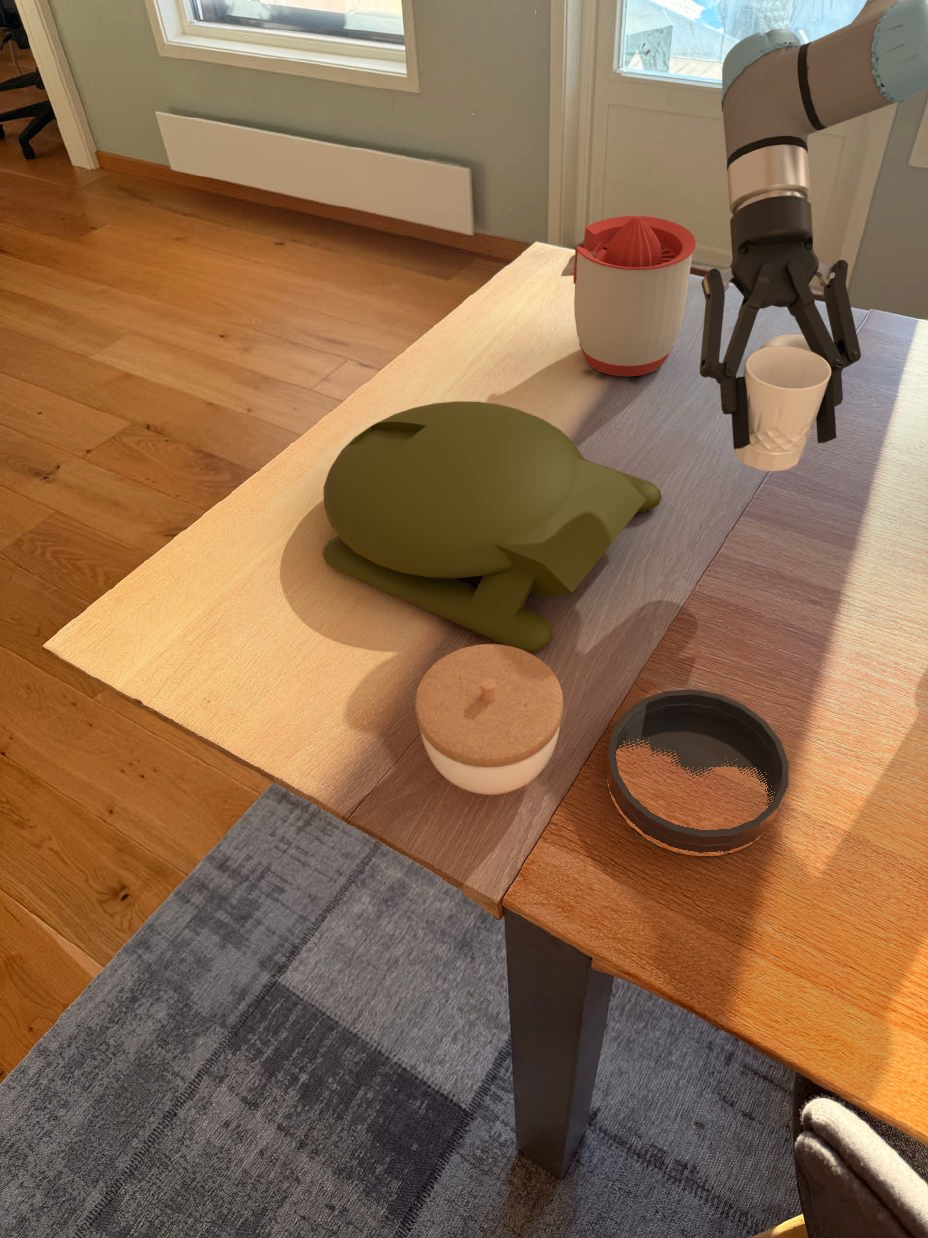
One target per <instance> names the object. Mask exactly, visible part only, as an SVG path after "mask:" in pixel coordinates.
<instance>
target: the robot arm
mask: <svg viewBox="0 0 928 1238" xmlns="http://www.w3.org/2000/svg"><path fill="white" fill-rule="evenodd" d="M927 90H928V0H866V1H865V3H864V5H863V7H862V8H861V10H860V11H859V12H858V14H857V15H856V17H855V18H854V19H853V20H852V21H851V23H849V24H847V25H845V26H843V27H841V28H838V29H836V30H834V31H831V32H830V33H828V34H825V35H824V36H821V37H819V38H817V39H815V40H813V41H809V42H807V43H803V44H802V43H801V39H800V37H799V36H798V35H797V34H796V33H794V32H793V31H790V30H788V29H783V28H773V29H770V30H769V31H767V32H760V31H758V32H755V33H753V34H751V35H748V36H746V37H744V38H743V39H741V40H740V41H738V42H737V43H736V44H735V45H734V46H733V47H731V49H730V50H729V51H728V53H727V54H726V56H725V57H724V61H723V63H722V68H721V94H722V95H721V100H720V105H721V112H722V119H723V130H724V131H723V133H724V141H725V142H724V145H725V153H726V154H725V156H726V172H727V174H726V175H727V192H728V205H729V206H728V207H729V208H728V209H729V212H730V214H731V215H732V216H731V218H730V221H729V228H730V229H729V230H730V242H731V243H730V244H731V255H732V260H731V264H730V266H729V267H728V268H727V267H726V268H724V269H720V270H719V269H718V268H715V267H714V268H711V269H710V270H709V271H708V272H707V273H706V275H705V276H704V277H703V278H702V280H701V283H700V284H701V288H702V292H703V296H704V300H705V307H704V317H703V318H704V319H703V329H702V340H701V350H700V362H699V374H700V376H701V377H703V378H711V379H714V380H715V382H716V383H717V384H718V385H719V389H720V405H721V406H720V407H721V411H722V414H723V415H731V429H732V431H731V432H732V442H733V443H732V444H733V446H732V447H733V450H735V449H741V448H743V447H745V446H747V445H749V444H750V437H749V421H748V405H747V389H746V380H745V377H743V376H737V374H738V371H739V369H740V366H741V363H742V361H743V357H744V354H745V351H746V348H747V345H748V342H749V339H750V337H751V333H752V332H753V331H752V330H753V329H754V325H755V322H756V320H757V316H758V313H759V311H760V310H762V309H766V308H769V307H776V308H787V310H788V312H789V314H790V316H792V317H793V318H794V319H795V322H796V323H797V326H798V327H799V330H800V331H801V335H803V336H804V338H805V340H806V342H807V344H808V346H809V348H810V350H811V351H812V352H814V353H816V354H818V355H819V356H821V357H822V358H824V359H825V360H826V361H827V362H828V364H829V365H830V368H831V376H830V379H829V382H828V385H827V387H826V390H825V393H824V396H823V399H822V402H821V405H820V408H819V411H818V414H817V417H816V420H815V422H816V440H817V441H816V442H817V444H825V443H828V442H830V441H833V440H835V439H837V425H836V424H837V423H836V422H837V421H836V407H838V406H839V405H841V404H842V402H843V401H844V393H843V391H844V389H843V377H842V375H843V374H842V373H843V371H844V369H845V368H848V367H850V366H851V365H852V366H853V364H855V363H856V362H858V361H860V360H861V358H862V352H861V348H860V342H859V338H858V334H857V329H856V325H855V324H856V323H855V320H854V316H853V310H852V306H851V301H850V297H849V292H848V288H847V277H848V271H849V263H848V261H847V260H845V259H839V260H838V261H836V262H835V263H833V262H826V261H820V259H819V257H818V256H817V254H816V252H815V251H814V232H813V231H814V229H813V228H814V227H813V214H812V213H813V212H812V204H811V202H810V201H808V200H809V199H810V197H811V196H812V195H811V179H810V164H809V147H808V146H809V145H808V138H809V136H810V135H811V134H813V133H817V132H820V131H823V130H826V129H828V128H830V127H832V126H835V125H838V124H841V123H843V122H846V121H850V120H852V119H855V118H858V117H860V116H863V115H866V114H869V113H871V112H872V113H873V112H874V111H877V110H880V109H883V108H886V107H888V106H891V105H894V104H897V103H904V102H906V101H909V100H910V99H911V98H912V97H914V96H916V95H918V94H921V93H922V92H925V91H927ZM815 276H816V277H817V278H818V280H819V282H818V283H819V286H820V287H821V288H823V297H824V298H823V299H824V305H825V307H826V312H827V316H828V322H829V327H830V331H831V334H830V332H829V330H828V327H827V325H826V324H825V322H824V319H823V317H822V316H821V313H820V311H819V309H818V307H817V305H816V299H815V298H816V297H815V296H814V293H813V291H812V289H811V287H810V283H811V282H812V280H813V278H814V277H815ZM730 282H731V283H732V284H733V285H734V286H735V288H736V289H737V290H738V291H739V293H740V295H742V296H743V298H742V301H741V303H740V307H739V310H738V312H737V318H736V322H735V324H734V328H733V330H732V334H731V335H730V339H729V343H728V345H727V348H726V351H725V354H724V357H723V360H722V362H720V357H721V355H720V354H721V345H722V344H721V343H722V333H723V321H724V313H725V312H724V311H725V299H726V298H725V297H726V292H727V290H728V289H729V287H730Z"/></svg>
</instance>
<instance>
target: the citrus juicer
mask: <svg viewBox="0 0 928 1238" xmlns="http://www.w3.org/2000/svg"><path fill="white" fill-rule="evenodd" d="M583 239H584V240H583V247H581V246H578V245H575V246H574V247H575V249H574V254H573V255H571V256H570V258H569V259H568V262H567V263H566V265H565V267H564V268H563V269H562V271H561V273H560V277H573V278H572V279H573V285H574V299H573V307H574V309H573V311H574V314H573V315H574V323H575V328H576V335H577V338H578V345H579V347H580V351H581V353H582V355H583V357H584V360H585V361H586V363H587V364H588V365H589V366H590V367H591V368H593V369H594V370H596V371H598V372H601V373H603V374H607V375H611V376H615V377H637V376H644V375H648V374H650V373H653V372H655V371H656V370H658V369H659V368H661V367H662V365H663V364H664V363H665V362H666V360H667V359H668V357H669V355H670V354H671V352H672V350H673V348H674V344H675V341H676V339H677V337H678V335H679V332H680V330H681V326H682V323H683V320H684V319H683V318H684V314H685V310H686V304H687V303H686V302H687V296H688V288H689V280H690V273H691V267H692V260H693V253H694V252H695V250H696V246H697V241H696V238H695V235H693V233H692V232H691V231H690V230H688V229H687V228H686V227H685V226H683V225H680V224H679V223H677V222H674V221H670V220H668V219H663V218H659V217H653V216H645V215H644V216H643V215H642V216H641V215H627V216H626V215H624V216H616V217H610V218H606V219H605V218H604V219H601V220H598V221H596V222H592V223H590V224H589V225H587V226H585V227H584V238H583Z"/></svg>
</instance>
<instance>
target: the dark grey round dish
mask: <svg viewBox="0 0 928 1238" xmlns="http://www.w3.org/2000/svg"><path fill="white" fill-rule="evenodd" d="M610 734H611V735H610V739H609V744H608V750H607V757H606V765H605V774H606V773H607V776H606V780H607V779H608V784H609V789H610V792H611V794H612V796H613V797H614V799H615V801H616V803H617V805H618V806H619V808H620V809H621V811H622V812H623V814H624V815H625V816H626V817H627V818H628V819H629V820H630V821H631V822H632V823H633V824H635V826H637V827H638V828H639V829H640V830H641V831H642V832H643V833H644V834H646V835H648V836H651V837H652V838H654V839H656V840H659V841H660V842H662V843H665V844H667V845H668V846H671V847H674V848H678V849H682V850H688V851H694V852H699V853H703V852H706V853H707V852H718V851H720V852H721V851H723V852H725V851H730V850H732V849H735V848H739V847H741V846H744V845H746V844H749V843H750V842H753V841H755V840H756V839H757V838H758V837H759V836H761V835H762V834H763V833H764V832H765V831H767V830H768V829H769V830H770V828H772V826H773V825H774V822H775V820H776V818H777V816H778V814H779V812H780V810H781V807H782V805H783V802H784V800H785V798H786V795H787V792H788V790H789V785H790V784H789V783H790V763H789V759H788V757H787V753H786V751H785V748H784V745H783V743H782V740H781V738H780V737H779V736H778V735H777V734H776V732H775V731H774V730H773V729H772V727H771V726H770V725H769V723H768V722H767V721H766V720H765V718H763V717H761V716H760V715H759V714H757V713H756V712H755V711H753V710H752V709H751V708H749V707H748V706H747V705H745V704H744V703H742V702H739V701H737V700H735V699H732V698H729V697H728V696H726V695H723V694H721V693H717V692H712V691H705V690H700V689H694V688H688V689H672V690H664V691H661V692H658V693H656V694H653V695H649V696H647V697H644V698H642V699H640V700H639V701H638V702H637V703H634V705H632V706H631V707H630V708H628V709H627V710H625V711H624V712H623V714H622V715H621V717H620V718H619V720H618V721H617V722H616V724H615V726H614V727H613V729H612V730H611V733H610ZM643 737H644V738H643ZM633 738H634V739H633ZM648 738H649V739H648ZM629 739H630V740H629ZM637 739H639V741H637ZM628 740H629V741H628ZM643 740H644V742H640V741H643ZM623 741H625V743H624V742H623ZM632 741H635V742H632ZM648 741H649V742H648ZM629 742H631V743H630V744H628V743H629ZM637 742H640V743H639V744H638V743H637ZM646 742H648V743H646ZM626 743H627V744H626ZM635 743H636V745H635V746H637V745H640V744H643V743H645V745H648V744H650V745H649V747H650V746H651V747H650V749H652V750H651V752H652V751H655V750H657V751H656V753H657V752H660V751H662V752H661V754H662V753H664V752H667V753H666V754H669V753H671V752H672V753H671V755H673V754H675V753H676V755H673V756H672V757H671V758H673V757H675V756H677V755H678V756H677V758H678V760H679V761H678V760H675V761H674V762H676V761H678V762H676V763H675V764H678V763H680V764H678V765H677V766H679V765H681V766H680V767H684V768H683V769H685V768H687V767H689V768H688V769H685V771H686V770H689V769H690V771H691V773H694V772H696V771H698V770H699V772H696V773H695V774H697V773H700V772H702V771H703V773H705V772H704V770H706V769H708V768H710V767H714V768H715V767H723V766H725V765H726V767H728V766H730V767H733V766H734V767H738V769H739V768H741V767H742V769H744V768H746V767H748V768H746V770H747V769H749V768H750V769H749V771H750V770H752V769H753V768H755V767H756V769H757V771H758V773H756V772H757V771H755V770H756V769H753V771H755V772H754V773H756V774H755V775H757V774H759V775H757V776H756V777H758V776H760V775H761V774H763V775H761V776H760V777H758V778H757V779H759V778H761V777H762V776H764V777H762V778H761V779H759V781H760V780H762V779H763V778H765V779H763V780H762V781H760V783H761V782H763V781H764V780H766V779H767V780H766V781H764V782H763V783H765V782H767V783H765V785H766V784H767V786H768V788H769V789H768V788H767V791H768V793H769V792H770V793H769V794H767V793H766V794H767V796H769V797H771V796H773V797H774V799H773V797H771V798H772V800H773V802H770V801H772V800H770V799H771V798H769V797H767V798H769V799H768V800H769V802H770V803H768V802H767V803H768V804H767V805H769V804H771V803H772V804H771V805H769V806H768V808H767V809H766V810H765V811H764V812H762V813H761V814H760V815H759V816H758V817H757V818H756V819H754V820H752V821H749V822H747V823H744V824H742V825H739V826H737V827H734V828H731V829H718V830H699V829H694V828H689V827H684V826H680V825H675V824H673V823H671V822H669V821H667V820H665V819H663V818H661V817H659V816H657V815H655V814H653V813H651V812H650V811H649V810H648V809H647V808H646V807H644V806H643V805H642V804H641V803H640V802H639V801H638V800H637V799H635V798H634V797H633V796H632V795H631V793H630V792H629V790H628V788H627V787H626V785H625V783H624V782H623V780H622V778H621V777H620V775H619V771H618V766H617V761H616V756H615V755H616V751H617V749H619V748H622V747H625V746H629V745H632V744H635ZM623 744H626V745H625V746H623ZM620 745H622V746H621V747H619V746H620ZM645 745H644V746H645ZM631 747H634V746H633V745H632V746H631ZM631 747H630V748H631ZM640 747H643V746H640ZM655 747H656V748H655ZM628 748H629V747H627V748H626V749H628ZM637 748H638V747H637ZM637 748H636V749H637ZM646 748H648V747H646ZM660 748H661V749H660ZM650 749H649V750H650ZM658 749H660V750H658ZM665 749H666V750H665ZM632 750H634V749H632ZM664 750H665V751H664ZM669 750H670V751H669ZM621 751H622V750H621ZM674 751H675V752H674ZM652 754H655V753H652ZM652 754H651V755H652ZM666 754H663V755H662V756H664V755H666ZM657 755H659V754H657ZM657 755H656V756H657ZM671 755H667V757H668V756H671ZM679 757H681V758H679ZM725 757H726V758H725ZM677 758H673V760H674V759H677ZM726 759H727V760H726ZM736 759H737V760H736ZM734 760H735V761H734ZM671 761H672V760H671ZM727 761H728V762H727ZM674 762H671V763H674ZM731 762H732V763H731ZM671 763H670V764H671ZM724 763H725V764H724ZM727 764H729V765H727ZM732 764H733V765H732ZM721 765H722V766H721ZM735 765H737V766H735ZM672 766H673V765H672ZM677 766H676V767H677ZM693 767H694V768H693ZM700 767H701V768H700ZM705 767H706V768H705ZM751 767H752V768H751ZM691 768H692V769H691ZM697 768H698V769H697ZM704 768H705V769H704ZM714 768H713V769H714ZM700 769H702V771H701V770H700ZM742 769H740V770H739V771H741V770H742ZM692 770H694V771H692ZM710 770H712V768H711V769H708V770H706V772H707V771H710ZM759 770H760V771H759ZM690 771H689V772H690ZM714 771H715V770H714ZM743 771H745V770H743ZM753 771H751V772H753ZM712 772H713V771H712ZM747 772H748V771H747ZM751 772H750V773H751ZM760 772H761V773H760ZM765 772H766V773H765ZM686 773H688V772H686ZM691 773H690V774H691ZM703 773H700V774H699V775H701V774H703ZM709 773H710V772H709ZM709 773H707V774H709ZM740 773H742V772H740ZM744 774H745V773H744ZM752 774H753V773H752ZM752 774H751V775H752ZM766 774H767V775H766ZM693 775H694V774H692V776H693ZM747 775H748V774H747ZM696 776H698V775H696ZM703 776H704V775H703ZM709 776H710V775H709ZM701 777H702V776H701ZM748 777H749V776H748ZM752 777H753V776H752ZM693 778H694V777H693ZM757 782H758V781H757ZM761 785H762V784H761ZM767 786H766V787H767ZM771 786H772V787H771ZM770 789H771V790H770ZM765 790H766V789H765ZM767 791H765V792H767ZM771 791H772V792H771ZM774 792H775V793H774ZM772 793H773V794H772ZM770 794H771V795H770ZM763 796H764V795H763ZM768 800H767V801H768ZM763 803H764V802H763ZM765 804H766V803H765ZM767 805H766V806H767ZM769 830H768V831H769ZM768 831H767V832H768Z"/></svg>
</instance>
